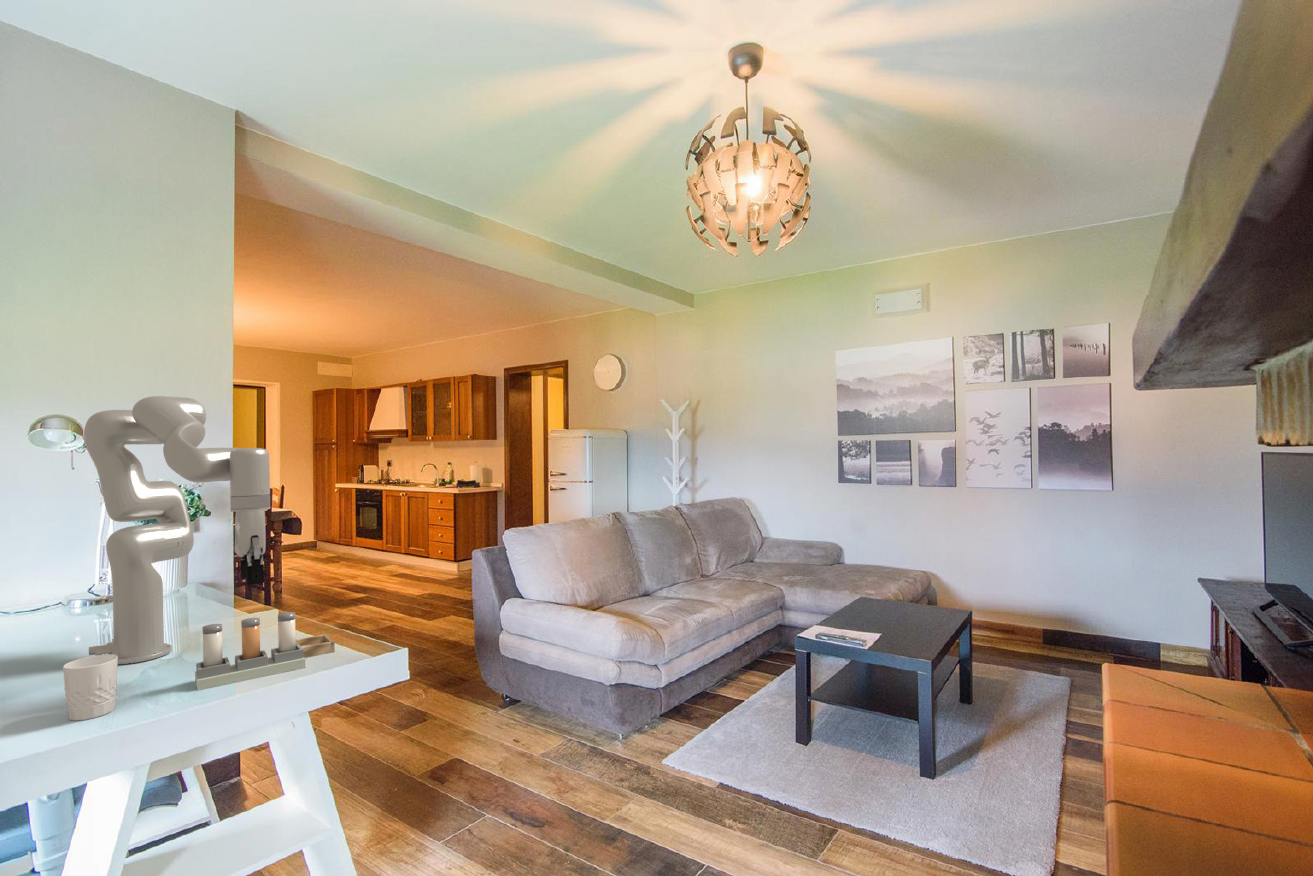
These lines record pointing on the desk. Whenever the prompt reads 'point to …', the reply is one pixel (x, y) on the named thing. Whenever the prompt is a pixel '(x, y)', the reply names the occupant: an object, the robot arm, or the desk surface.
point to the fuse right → (286, 632)
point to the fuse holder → (248, 668)
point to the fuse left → (212, 645)
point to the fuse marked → (250, 638)
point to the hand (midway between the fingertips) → (252, 580)
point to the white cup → (90, 686)
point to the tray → (316, 645)
